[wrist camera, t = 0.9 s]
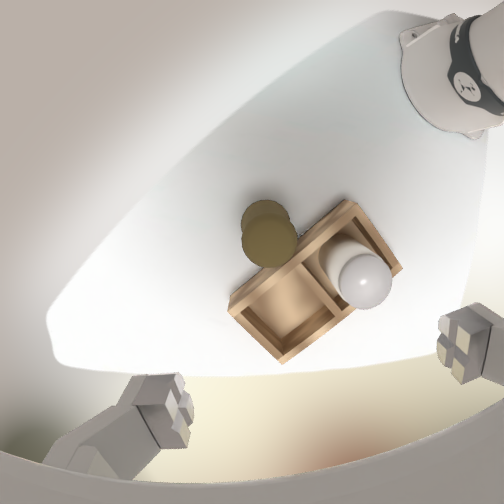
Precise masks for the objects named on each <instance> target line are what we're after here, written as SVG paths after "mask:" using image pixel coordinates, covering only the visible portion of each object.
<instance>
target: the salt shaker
mask: <svg viewBox="0 0 504 504" xmlns="http://www.w3.org/2000/svg"><path fill="white" fill-rule="evenodd" d="M318 261H319V264H320V267H321V269H322V270H323V271H324V273H325V274H326V276H327V277H328V279H329V280H330V282H331V283H332V284H333V286H334V287H335V289H336V290H337V292H338V293H339V295H340V296H341V297H342V299H343V300H345V301H346V302H348V304H350V305H351V306H352V307H354V308H357V309H363V310H364V309H371V308H373V307H376V306H377V305H379V304H380V303H382V302H383V301H384V300H385V298H386V297H387V296H388V294H389V292H390V289H391V286H392V274H391V271H390V269H389V267H388V266H387V264H385V262H384V261H383V259H382V258H381V257H380V256H378V255H377V254H375V253H374V252H372V251H371V250H369V249H368V248H367V247H365V246H364V245H362V244H361V243H359V242H358V241H356V240H355V239H353V238H352V237H350V236H348V235H344V234H337V235H334V236H332V237H331V238H330V239H328V240H327V241H326V242H325V243H324V244H322V246H321V248H320V250H319V254H318Z"/></svg>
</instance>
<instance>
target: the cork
mask: <svg viewBox="0 0 504 504" xmlns="http://www.w3.org/2000/svg"><path fill="white" fill-rule="evenodd" d="M241 228H242V232H243V234H242V238H241V239H242V248H243V250H244V252H245V255H246V256H247V257H248V258H249V259H250V260H251V262H253V263H255V264H257V265H258V266H261V267H265V268H274V267H278V266H281V265H283V264H285V263H286V262H287V261H288V260H290V258H291V257H292V255H293V254H294V252H295V250H296V247H297V233H296V230H295V228H294V226H293V224H292V223H291V222H290V218H289V216H288V213H287V211H286V210H285V209H284V208H283V206H281V205H280V204H278V203H277V202H274V201H270V200H260V201H257V202H255V203H253V204H251V205H250V206H249V207H248V208H247V209H246V211H245V212H244V214H243V216H242V220H241Z"/></svg>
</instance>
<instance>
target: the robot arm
mask: <svg viewBox="0 0 504 504" xmlns="http://www.w3.org/2000/svg"><path fill="white" fill-rule="evenodd" d="M412 35H413V36H414V37H415V38H414V37H413V36H412ZM399 39H400V43H401V47H402V50H403V57H402V63H401V73H402V80H403V84H404V87H405V90H406V92H407V94H408V96H409V98H410V100H411V102H412V104H413V105H414V107H415V108H416V109H417V111H418V112H419V113H420V114H421V115H422V116H423V117H424V118H425V119H426V120H427V121H428V122H429V123H431V124H432V125H434V126H435V127H437V128H439V129H441V130H444V131H447V132H458V133H462V134H464V135H465V136H467V137H469V138H471V139H473V140H475V139H479V138H480V137H481V135H482V134H483V132H484V130H485V129H488V128H492V127H496V126H501V125H502V124H504V1H503V2H502V3H500V4H499V5H498V6H496V7H495V8H494V9H492V10H490V11H489V12H487V13H485V14H484V15H476V16H473V17H469V18H467V19H465V20H463V19H462V18H460V17H458V16H456V14H455V13H453V14H450V15H448V16H446V17H445V18H444V19H442V20H440V21H438V22H434V23H430V24H426V25H422V26H418V27H415V28H411V29H408V30H405V31H403V32H401V33H400V35H399ZM438 329H439V330H440V332H441V335H440V336H439V338H438V340H437V354H438V358H439V360H440V362H441V363H442V364H443V365H444V366H445V367H448V368H452V370H451V374H452V375H453V376H454V377H455V379H456V380H457V381H458V382H459V383H460V384H461V385H462V384H465V383H467V382H469V381H471V380H474V379H476V378H478V377H480V376H482V377H483V378H485V379H487V380H490V381H493V382H495V383H497V384H500V385H502V386H504V318H502V317H500V316H499V315H497V314H496V313H494V312H493V311H491V310H490V309H488V308H487V307H485V306H484V305H482V304H480V303H477V302H475V303H473V304H471V305H468V306H466V307H464V308H461V309H459V310H456V311H453V312H451V313H448V314H446V315H443V316H441V317H440V319H439V324H438ZM184 386H185V382H184V379H183V377H182V375H181V374H180V373H179V372H174V373H160V374H142V375H134V376H132V378H131V379H130V381H129V383H128V385H127V387H126V388H125V390H124V392H123V394H122V396H121V397H120V399H119V401H118V403H117V405H116V406H111V407H109V408H107V409H106V410H104V411H103V412H101V413H100V414H98V415H97V416H95V417H93V418H92V419H90V420H88V421H87V422H85V423H84V424H82V425H81V426H79V427H77V428H75V429H74V430H72V431H70V432H69V433H68V434H66V435H64V436H62V437H61V438H59V439H57V440H56V441H55V443H54V444H53V446H52V448H51V449H50V451H49V452H48V454H47V456H46V457H45V459H44V460H43V462H42V464H40V463H37V462H33V461H30V460H27V459H23V458H20V457H17V456H14V455H11V454H8V453H5V452H2V451H0V504H504V398H503V399H502V400H500V401H498V402H496V403H495V404H493V405H491V406H490V407H488V408H486V409H484V410H482V411H480V412H479V413H477V414H475V415H473V416H471V417H469V418H467V419H465V420H463V421H461V422H459V423H457V424H455V425H453V426H450V427H448V428H446V429H444V430H441V431H439V432H437V433H435V434H432V435H430V436H428V437H425V438H422V439H420V440H418V441H415V442H412V443H410V444H407V445H404V446H402V447H399V448H396V449H393V450H390V451H387V452H384V453H381V454H378V455H375V456H371V457H368V458H364V459H361V460H357V461H354V462H350V463H346V464H342V465H338V466H334V467H330V468H325V469H320V470H316V471H311V472H305V473H300V474H294V475H289V476H281V477H275V478H267V479H258V480H248V481H237V482H221V483H220V482H219V483H163V482H146V481H135V480H134V481H133V480H132V479H133V478H134V477H135V476H136V475H137V474H138V473H139V472H140V471H141V470H142V469H143V468H144V467H145V466H146V465H147V464H148V463H149V462H150V461H151V460H152V459H153V458H154V457H155V456H156V455H157V454H158V453H159V452H160V449H182V448H187V446H188V442H189V437H190V431H189V428H188V426H190V425H191V424H192V423H193V418H194V407H193V403H192V399H191V397H190V394H188V393H187V392H185V391H184V390H183V389H184Z"/></svg>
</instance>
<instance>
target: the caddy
mask: <svg viewBox="0 0 504 504" xmlns="http://www.w3.org/2000/svg"><path fill="white" fill-rule="evenodd" d="M337 234H344V235H348V236H350V237H352V238H353V239H355V240H356V241H358V242H359V243H361V244H362V245H364V246H365V247H367V248H368V249H369V250H371V251H372V252H374V253H375V254H377V255H378V256H380V257H381V258H382V259H383V261H384V262H385V264H387V266H388V267H389V269H390V271H391V274H392V278H393V277H394V276H395V275H396V274H397V273H398V272H399V271H401V270H402V269H403V268H402V266H401V265H400V263H399V262H398V260H397V259H396V257H395V256H394V254H393V253H392V251H391V250H390V248H389V247H388V246H387V244H386V243H385V241H384V240H383V238H382V237H381V235H380V234H379V233H378V231H377V230H376V228H375V227H374V226H373V224H372V223H371V221H370V220H369V219H368V217H367V216H366V215H365V213H364V212H363V211H362V209H361V208H360V206H359V205H358V204H357V203H355V202H352V201H348V200H345V199H344V200H343V201H342V202H341V203H340V204H338V205H337V206H336V207H335V208H334V209H333V210H331V211H330V212H329V213H328V214H327V215H326V216H324V217H323V218H322V219H321V220H320V221H319V222H317V223H316V224H315V225H314V226H313V227H312V228H310V229H309V230H308V231H307V232H306V233H305V234H303V235H302V236H301V237H300V238H299V239H297V247H296V250H295V252H294V254H293V255H292V257H291V258H290V260H288V261H287V262H286V263H285V264H283V265H281V266H278V267H274V268H265V267H264V268H263V269H262V270H261V271H259V272H258V273H257V274H256V275H255V276H253V277H252V278H251V279H250V280H249V281H247V282H246V283H245V284H244V285H243V286H241V287H240V288H239V289H238V290H237V291H235V292H234V293H233V294H232V295H231V296H230V301H229V306H228V311H227V312H228V313H229V314H230V315H231V316H232V317H233V318H234V319H235V320H236V321H237V322H238V323H239V324H240V325H241V326H242V327H243V328H244V329H245V330H246V331H247V332H248V333H249V334H250V335H251V336H252V337H253V338H255V339H256V340H257V341H258V342H259V343H260V344H261V345H262V346H263V347H264V348H265V349H266V350H267V351H268V352H269V353H270V354H271V355H272V356H273V357H274V358H275V359H277V360H278V361H279V362H280V363H281V364H282V365H283V364H284V363H286V362H287V361H288V360H290V359H291V358H293V357H294V356H295V355H297V354H298V353H300V352H301V351H302V350H304V349H305V348H306V347H308V346H309V345H310V344H312V343H313V342H314V341H316V340H317V339H318V338H320V337H321V336H322V335H324V334H325V333H326V332H328V331H329V330H330V329H331V328H333V327H334V326H335V325H337V324H338V323H339V322H340V321H342V320H343V319H344V318H345V317H347V316H348V315H349V314H350V313H352V312H353V311H354V310H355V309H357V308H354V307H352V306H351V305H350V304H348V302H346V301H345V300H343V299H342V297H341V296H340V295H339V293H338V292H337V290H336V289H335V287H334V286H333V284H332V283H331V282H330V280H329V279H328V277H327V276H326V274H325V273H324V271H323V270H322V269H321V267H320V264H319V261H318V254H319V250H320V248H321V246H322V244H324V243H325V242H326V241H327V240H328V239H330V238H331V237H332V236H334V235H337Z"/></svg>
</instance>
